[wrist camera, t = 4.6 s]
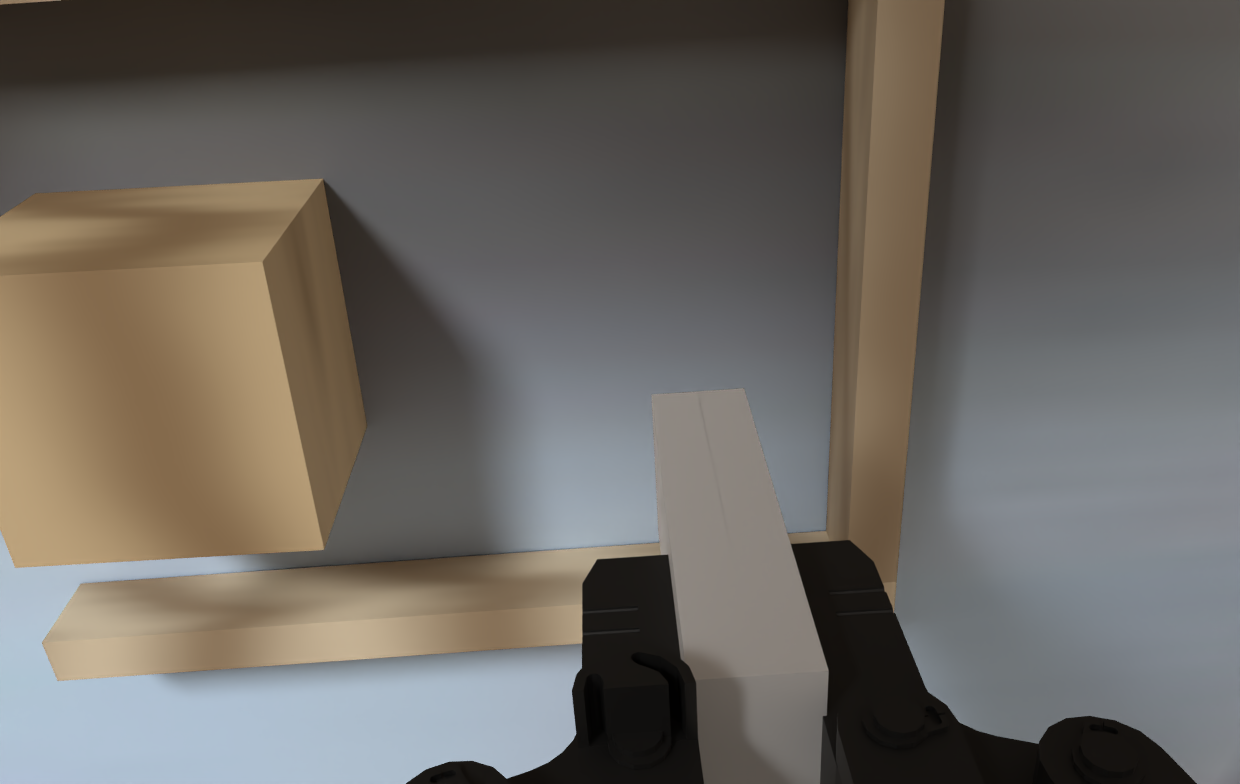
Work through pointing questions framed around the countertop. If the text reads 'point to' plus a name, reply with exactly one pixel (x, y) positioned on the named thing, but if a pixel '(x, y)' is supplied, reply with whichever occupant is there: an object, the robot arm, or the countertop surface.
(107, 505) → the oak block
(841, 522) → the wooden l-shaped bracket
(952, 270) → the countertop surface
